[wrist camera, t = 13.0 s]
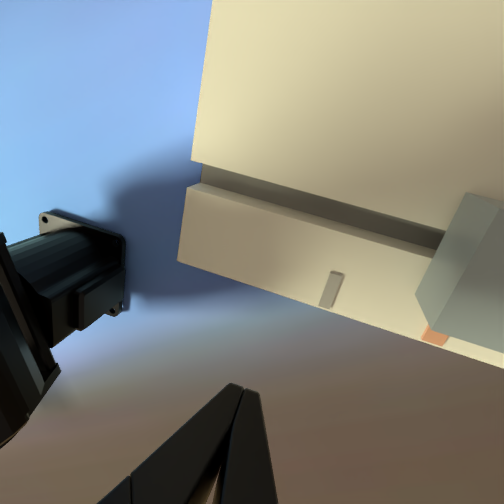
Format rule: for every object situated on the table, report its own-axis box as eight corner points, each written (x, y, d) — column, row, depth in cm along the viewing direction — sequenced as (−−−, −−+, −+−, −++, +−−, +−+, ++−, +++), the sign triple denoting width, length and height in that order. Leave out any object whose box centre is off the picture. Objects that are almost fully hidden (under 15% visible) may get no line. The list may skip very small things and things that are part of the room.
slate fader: (407, 278, 17) (431, 330, 12) (452, 185, 15) (499, 208, 10) (488, 303, 16) (542, 365, 12) (546, 209, 14) (637, 244, 10)
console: (194, 246, 20) (175, 262, 18) (282, -300, 11) (267, -417, 9) (569, 365, 17) (607, 404, 15) (1090, -264, 8) (1403, -427, 6)
